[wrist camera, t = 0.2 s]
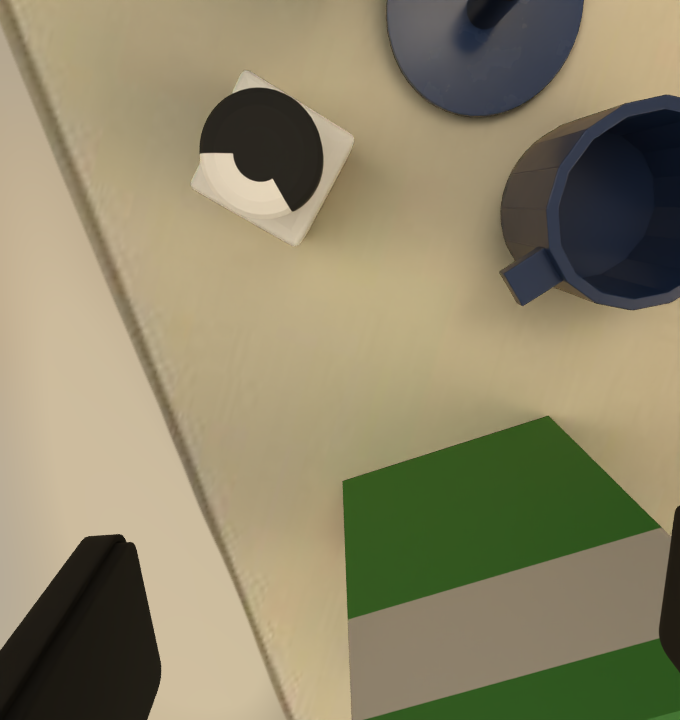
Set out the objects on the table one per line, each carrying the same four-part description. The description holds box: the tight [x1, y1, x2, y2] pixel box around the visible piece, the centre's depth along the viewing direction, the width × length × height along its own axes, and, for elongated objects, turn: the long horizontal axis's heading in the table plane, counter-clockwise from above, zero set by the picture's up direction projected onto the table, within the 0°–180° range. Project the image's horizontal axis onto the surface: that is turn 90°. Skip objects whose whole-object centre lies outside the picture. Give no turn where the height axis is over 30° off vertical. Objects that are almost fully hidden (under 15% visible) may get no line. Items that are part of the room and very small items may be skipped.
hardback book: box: [343, 416, 680, 720], centre depth 32 cm, size 18×7×24 cm, turn 109°
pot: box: [499, 95, 680, 310], centre depth 33 cm, size 11×17×8 cm
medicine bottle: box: [191, 70, 354, 247], centre depth 30 cm, size 7×7×12 cm
